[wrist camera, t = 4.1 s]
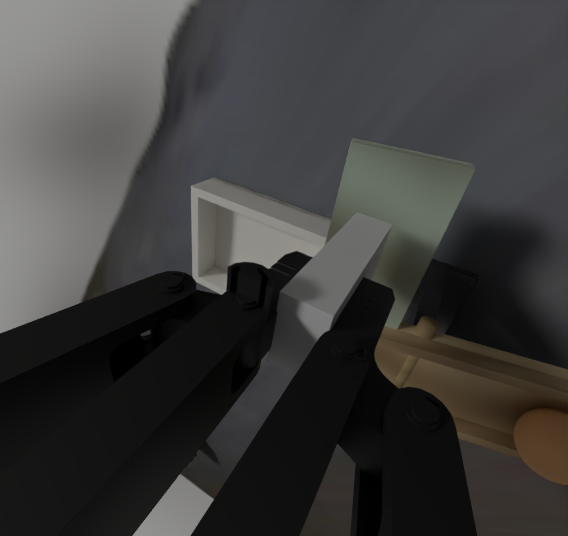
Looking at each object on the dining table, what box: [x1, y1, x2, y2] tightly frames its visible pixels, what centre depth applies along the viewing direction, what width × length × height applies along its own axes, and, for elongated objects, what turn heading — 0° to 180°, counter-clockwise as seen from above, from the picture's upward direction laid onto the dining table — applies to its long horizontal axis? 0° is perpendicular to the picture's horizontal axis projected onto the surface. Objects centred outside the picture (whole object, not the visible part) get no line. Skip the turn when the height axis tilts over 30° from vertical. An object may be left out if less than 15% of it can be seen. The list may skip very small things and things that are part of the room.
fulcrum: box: [401, 259, 478, 334], centre depth 22 cm, size 9×4×5 cm, turn 170°
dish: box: [191, 177, 331, 295], centre depth 27 cm, size 9×12×3 cm
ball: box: [513, 408, 568, 485], centre depth 17 cm, size 4×4×4 cm
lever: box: [325, 138, 568, 460], centre depth 16 cm, size 16×16×2 cm
